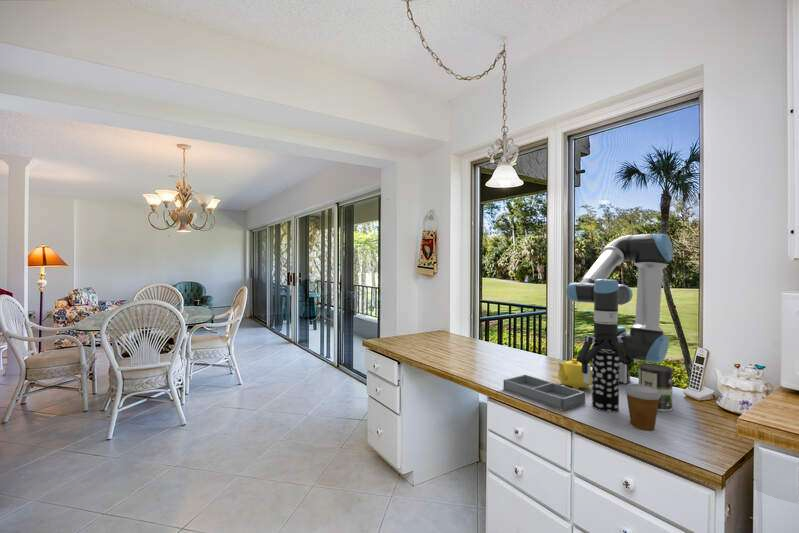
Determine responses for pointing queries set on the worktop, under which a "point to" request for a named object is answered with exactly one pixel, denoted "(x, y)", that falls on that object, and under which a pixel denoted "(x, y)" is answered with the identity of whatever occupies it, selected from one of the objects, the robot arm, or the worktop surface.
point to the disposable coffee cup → (642, 405)
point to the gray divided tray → (545, 392)
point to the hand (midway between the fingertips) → (605, 382)
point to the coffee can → (658, 382)
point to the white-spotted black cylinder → (605, 380)
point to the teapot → (573, 374)
